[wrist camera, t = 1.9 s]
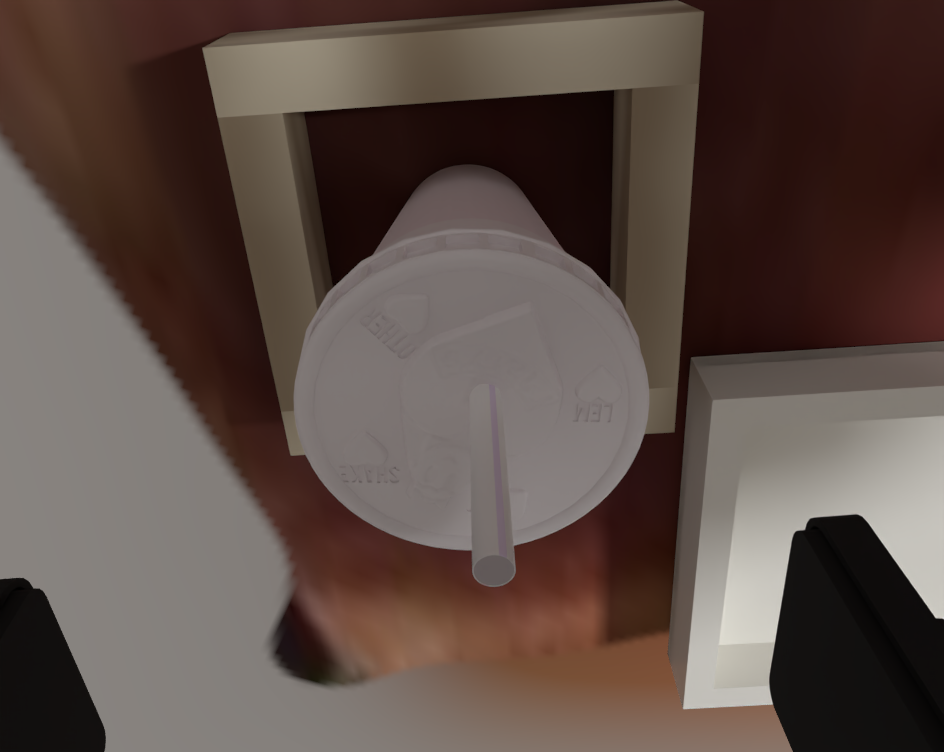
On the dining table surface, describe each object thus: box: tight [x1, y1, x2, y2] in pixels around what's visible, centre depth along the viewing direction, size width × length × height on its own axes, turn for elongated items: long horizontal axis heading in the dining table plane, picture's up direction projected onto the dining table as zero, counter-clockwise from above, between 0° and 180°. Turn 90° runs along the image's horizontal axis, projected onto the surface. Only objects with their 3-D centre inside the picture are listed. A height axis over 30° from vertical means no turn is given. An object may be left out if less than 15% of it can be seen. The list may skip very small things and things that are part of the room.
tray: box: [668, 341, 944, 709], centre depth 27 cm, size 16×13×2 cm
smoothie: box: [294, 164, 649, 587], centre depth 17 cm, size 6×6×14 cm
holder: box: [202, 0, 704, 456], centre depth 22 cm, size 11×11×2 cm
